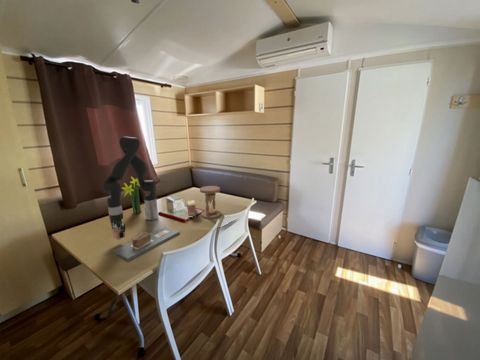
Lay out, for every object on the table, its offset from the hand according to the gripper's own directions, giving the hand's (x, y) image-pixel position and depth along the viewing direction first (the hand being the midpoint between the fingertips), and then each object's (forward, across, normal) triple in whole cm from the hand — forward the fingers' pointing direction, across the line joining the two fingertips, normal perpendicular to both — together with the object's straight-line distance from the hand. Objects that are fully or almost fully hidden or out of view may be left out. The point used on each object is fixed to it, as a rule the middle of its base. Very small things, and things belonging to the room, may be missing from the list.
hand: (119, 236), depth 134 cm
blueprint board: (+5, +15, +11) cm, 19 cm away
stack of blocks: (+6, +3, +62) cm, 62 cm away
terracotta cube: (0, 0, 0) cm, 0 cm away
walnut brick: (+3, +15, +6) cm, 17 cm away
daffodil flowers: (+6, -39, +35) cm, 52 cm away
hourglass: (+6, +21, +68) cm, 71 cm away
